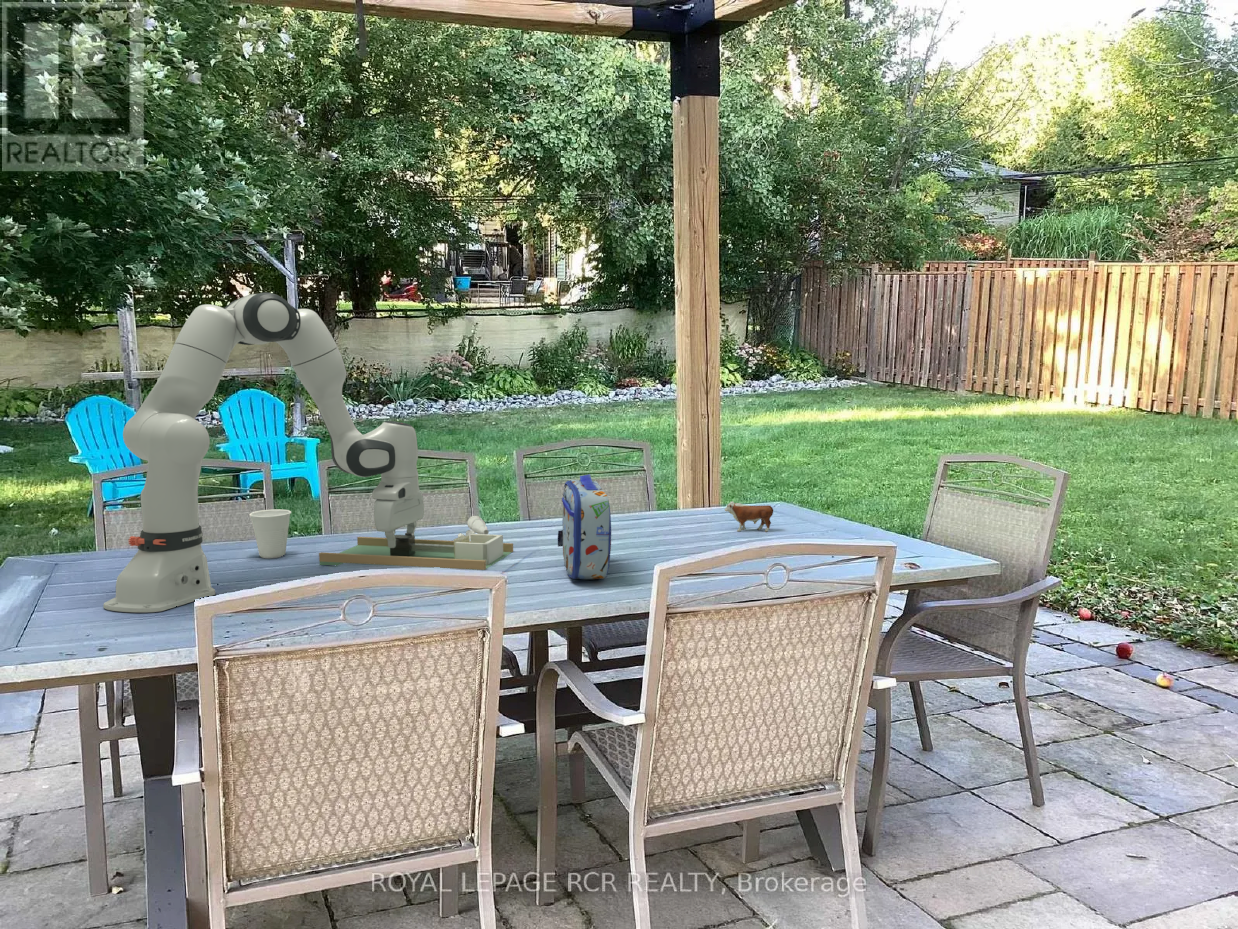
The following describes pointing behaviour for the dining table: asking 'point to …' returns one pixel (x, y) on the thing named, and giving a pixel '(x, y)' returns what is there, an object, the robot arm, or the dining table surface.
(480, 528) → the cream rounded piece
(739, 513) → the bull figurine
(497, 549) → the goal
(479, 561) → the pitch
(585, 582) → the dining table surface
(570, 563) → the lunch box
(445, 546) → the kicker rod
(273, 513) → the cup
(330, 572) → the dining table surface
